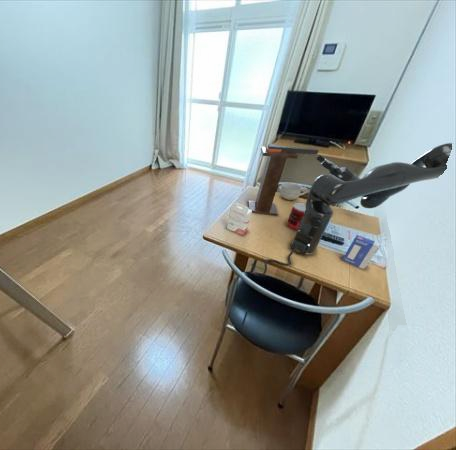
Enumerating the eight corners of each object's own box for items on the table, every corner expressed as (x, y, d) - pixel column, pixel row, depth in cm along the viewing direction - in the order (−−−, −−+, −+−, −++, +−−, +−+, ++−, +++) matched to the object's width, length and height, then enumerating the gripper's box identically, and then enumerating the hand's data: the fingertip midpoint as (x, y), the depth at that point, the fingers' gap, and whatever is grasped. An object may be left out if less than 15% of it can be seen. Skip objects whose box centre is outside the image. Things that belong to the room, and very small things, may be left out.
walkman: (341, 260, 102) (355, 236, 95) (343, 256, 103) (357, 233, 97) (364, 269, 97) (380, 246, 90) (366, 266, 99) (381, 242, 92)
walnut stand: (274, 204, 139) (293, 148, 121) (278, 215, 130) (298, 156, 112) (247, 201, 142) (261, 145, 124) (248, 212, 133) (263, 153, 115)
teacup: (277, 199, 145) (281, 186, 140) (279, 192, 153) (282, 180, 148) (303, 205, 140) (308, 192, 135) (304, 197, 148) (308, 184, 143)
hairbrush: (314, 152, 117) (316, 147, 116) (318, 155, 113) (319, 150, 112) (266, 148, 121) (267, 143, 120) (267, 151, 117) (268, 146, 116)
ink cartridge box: (247, 231, 118) (254, 204, 110) (242, 235, 115) (249, 208, 107) (231, 224, 123) (237, 198, 115) (226, 228, 120) (231, 201, 112)
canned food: (304, 224, 123) (312, 205, 117) (302, 232, 118) (310, 212, 112) (287, 219, 127) (294, 201, 120) (285, 227, 121) (292, 207, 115)
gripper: (347, 167, 121) (322, 148, 119) (359, 178, 110) (332, 158, 108) (333, 178, 126) (309, 160, 124) (344, 190, 114) (317, 171, 112)
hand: (320, 159), depth 116 cm, fingers open, 8 cm apart
